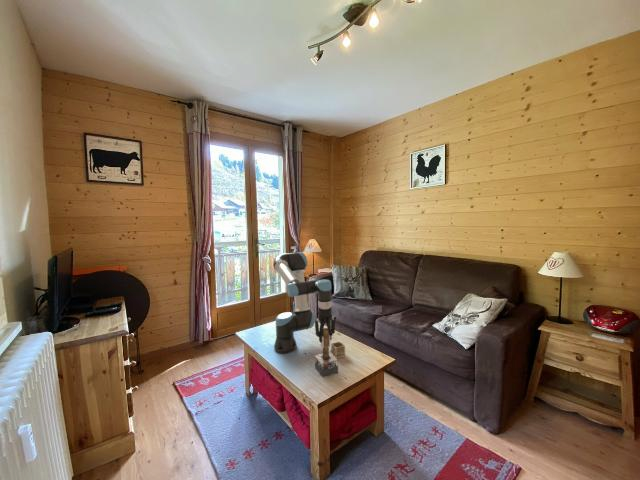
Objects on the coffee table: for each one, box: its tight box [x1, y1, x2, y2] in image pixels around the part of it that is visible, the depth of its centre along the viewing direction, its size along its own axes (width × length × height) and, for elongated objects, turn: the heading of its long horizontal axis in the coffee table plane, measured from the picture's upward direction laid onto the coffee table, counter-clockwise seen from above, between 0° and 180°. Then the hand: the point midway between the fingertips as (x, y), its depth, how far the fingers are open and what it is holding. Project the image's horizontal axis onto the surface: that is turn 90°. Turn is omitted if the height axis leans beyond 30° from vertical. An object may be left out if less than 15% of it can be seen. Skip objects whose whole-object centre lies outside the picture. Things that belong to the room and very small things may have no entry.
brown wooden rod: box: [322, 327, 330, 361], centre depth 156 cm, size 4×4×18 cm
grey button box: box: [314, 351, 339, 378], centre depth 157 cm, size 10×10×8 cm
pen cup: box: [330, 341, 346, 359], centre depth 174 cm, size 7×7×7 cm
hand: (325, 346), depth 157 cm, fingers closed on brown wooden rod, 3 cm apart
